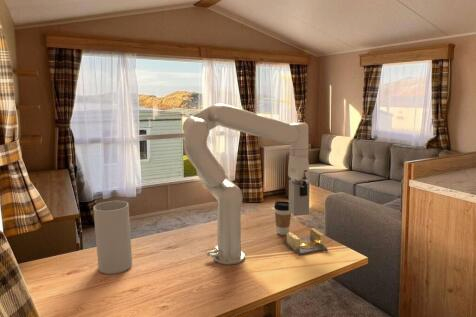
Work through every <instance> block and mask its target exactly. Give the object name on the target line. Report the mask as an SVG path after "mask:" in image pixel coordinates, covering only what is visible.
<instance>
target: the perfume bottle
mask: <svg viewBox="0 0 476 317" xmlns="http://www.w3.org/2000/svg"><path fill="white" fill-rule="evenodd" d="M303 179H304V178H303ZM304 182H305V181H303V183H304ZM300 187H301V184H300V181H297V180H296V179H292V181H290V180H288V202H289V211H290V212H291V215H292V216H293V217H294V216H295V217H297V216H298V217H299V216H308V215H310V183H309V184H308V187H307V196H302V197H301V196H300Z"/></svg>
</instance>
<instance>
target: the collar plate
mask: <svg viewBox="0 0 476 317" xmlns="http://www.w3.org/2000/svg"><path fill="white" fill-rule="evenodd" d="M309 232H310V233H309V236H306V237H301V238H300V237H298V236H297V235H296V234H294V233H293V232H291V231H289V232H288V233H287V234H286V240H284V241H283V244H284V245H285V246H286V247H287V248H289V249H290V250H291V251H293V253H295V254H296V255H297V256H302V255H308V254H309V255H310V254H315V253H318V252H319V251H320V252H324V251H323V250H325V251H328V247H327V246H325V234H324V233H323V232H321V231H319V230H318V229H316V228H315V227H314V228H310V229H309ZM320 252H319V253H320Z"/></svg>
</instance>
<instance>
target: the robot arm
mask: <svg viewBox="0 0 476 317" xmlns="http://www.w3.org/2000/svg"><path fill="white" fill-rule="evenodd" d="M218 126H220V127H222V128H226V129H230V130H233V131H237V132H241V133H243V134H247V135H251V136H254V137H255V136H256V137H260V138H261V137H262V138H264V139H265V138H266V139H270V140H273V141H277V142H278V143H283V144H287V145H289V156H288V163H287V164H288V165H287V166H288V169H287V170H288V171H287V176H288V177H289V178H290V179H289V181H292V179H296V180H297V181H300V184H301V187H300V196H301V197H302V196H307V187H308V184H310V183H311V177H310V164H309V125H308V123H307V122H292V123H287V122H284V121H280V120H277V119H273V118H271V117H268V116H264V115H261V114H259V113H255V112H252V111H250V110H249V111H248V110H247V109H246V110H245V109H242V108H239V107H237V106H233V105H231V104H225V103H214V104H212V105H210V106H208V107H206V108H204V109H202V110H201V111H199V112H196V113H195V114H193V115H191V116H189V117H188V118H186V119H185V121H183V123H182V132H183V133H184V135H185V137H184V141H183V150H184V153H185V156H186V157H187V159H188V160H189V162H190V163H191V165H192V166H193V167H194V169H195V170H196V175H197V177H198V178H199V180H200V181H201V182H202V184H203V185H204V186H205V187H206V189H207V190H208V191H209V193H210V194H211V195H212V196H213V198H215V199H216V201H217V202H218V203H217V204H218V205H217V212H216V220H217V221H216V222H217V225H216V226H217V229H216V232H217V245H216V246H215V248H214V249H213V250H207V251H205V254H206V257H209V256H210V257H211V258H213V259H214V261H215V262H217V263H219V264H222V265H228V266H229V265H237V264H240V263H242V262H243V261H244V260H245V258H246V254H245V253H244V252H243V251H242V219H241V218H242V206H243V193H242V190H241V189H240V187H239V186H238V185H237V184H235V183H234V182H232V181H231V180H230V179H229V177H228V176H227V175H226V171H225V169H224V168H223V166H222V164H221V163H219V161H218V160H217V159H216V157H215V156H214V154H213V153H212V151H211V150H210V149H209V147H208V142H207V141H208V138H209V134H210V131H211V130H213V129H214V128H216V127H218ZM303 178H304V179H303ZM303 181H305V182H304V183H303Z"/></svg>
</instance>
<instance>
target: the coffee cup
mask: <svg viewBox="0 0 476 317" xmlns="http://www.w3.org/2000/svg"><path fill="white" fill-rule="evenodd" d="M291 216H292V213H291V212H290V211H289V201H285V200H279V201H278V200H277V201H275V203H274V218H275V225H276V226H275V228H276V230H275V231H276V234H278V235H282V236H283V235H286V236H287V233H288V232H290V226H291V225H290V224H291Z"/></svg>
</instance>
